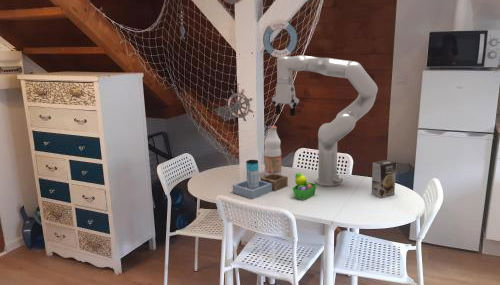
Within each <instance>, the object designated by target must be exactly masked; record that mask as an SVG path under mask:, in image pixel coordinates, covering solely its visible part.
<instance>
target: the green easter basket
mask: <svg viewBox="0 0 500 285" xmlns="http://www.w3.org/2000/svg"><path fill="white" fill-rule="evenodd" d="M294 180H295V186H293V187H292V188H291V189H292V190H293V193H294V194H293V195H294V197H295V198H296V199H300V200H303V201H304V200H306V199H308V198H310V197H312V196H315V192H316V190H317V187H318V184H316V183H314V182H310V181H308V179H307V176H305V175H304V174H303V173H301V172H297V173H296V174H295V179H294Z"/></svg>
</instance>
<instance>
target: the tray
mask: <svg viewBox="0 0 500 285" xmlns="http://www.w3.org/2000/svg"><path fill="white" fill-rule="evenodd" d="M271 192H273V190H272V184H271V183H268V182H264V181H260V179H259V188H256V189H254V190H251V189H247V179H246V180H242V181H240V182H238V183H234V184H232V193H233V194H235V195H238V196H243V197H245V198H248V199H251V200H254V199H257V198H259V197H262V196H265V195H267V194H269V193H271Z"/></svg>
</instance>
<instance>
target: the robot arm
mask: <svg viewBox="0 0 500 285" xmlns="http://www.w3.org/2000/svg"><path fill="white" fill-rule="evenodd" d="M276 70H277V71H276V73H277V77H276V79H277V81H276V82H277V84H276V86H275V95H274V96H273V97H272V98H271V102H272V104H273V106H274V108H275V114H276V115H280V114H281V111H282V110H281V108H282V107H281V105H289V107H290V108H289V113H290V114H289V115H290V117H293V116H296V108H297V107H298V105H299V102H300V99H299V98H297V97H296V90H295V85H294V79H293V71H294V72H302V71H305V72H311V73H317V74H321V75H323V76H329V77H333V78H334V77H335V78H343V79H347V80H348V82H350V84H351V85H352V86H353V87H354V89H355V90H356V91H357V93H358V95H357V97H356V98H355V100H353V101H352V102H351V103H350V104H349V105H348V106H346V107H345V108H343V109H342V110H341V111H339V112H338V113H337V114H336V117H335V118H334V119H333V120H332V121H331V122H326V123H323V124H321V126H320V127H319V129H318V131H317V132H318V133H317V139H318V156H317V157H318V161H317V162H318V167H317V168H318V171H317V172H318V175H317V178H316V179H315V184H317V186H321V187H335V186H338V185H340V184H342V183H343V182H344V179H343V178H341V177H339V176H340V175H339V174H338V142H339V141H340V140H341V139H343V138H344V137H345V136H347V135H348V134H349V133H350V132H352V131H353V130H354V128H355V126H356V125H357V124H356V123H357V122H358V120H360V119H361V118H363V116H365V115H366V114H368V112H369V111H370V110H371V109H372V107H373V106H374V103H375V102H376V99H377V93H378V91H379V88H378V86H377V83H376V82H375V81H374V80H373V79H372V77H371V76H370V75H369V74H368V73H367V71H366V70H365V69H364V67H363V65H362V64H361V63H360V62H358V61H355V60H354V61H352V60H347V59H346V60H345V59H338V58H332V57H318V56H311V55H310V56H308V55H302V54H300V55H295V56H289V55H288V56H287V55H286V56H284V55H283V56H279V57H277V58H276Z"/></svg>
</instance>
